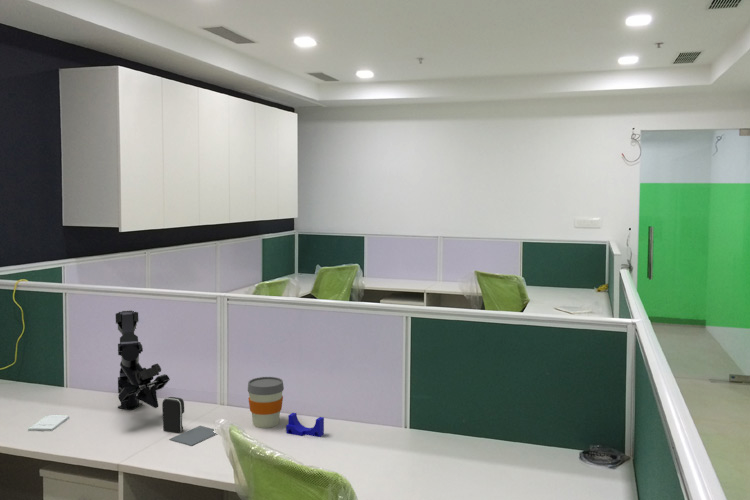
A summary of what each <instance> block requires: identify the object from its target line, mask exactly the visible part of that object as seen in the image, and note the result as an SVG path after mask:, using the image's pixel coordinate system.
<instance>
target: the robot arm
mask: <svg viewBox="0 0 750 500" xmlns="http://www.w3.org/2000/svg"><path fill="white" fill-rule="evenodd" d="M134 311H135V310H121V311H118V312H117V313H115V324H116V325H117V330H118V331H119V332H120V334H121V336H120V337H119V343H117V355H118V356H120V357H121V359H120V360H121V361H120V364H119V366H120V370H119V376H118V377H117V393H118V400H119V402H120V405H118V406H117V408H118V409H124V410H134V409H137V408H139V407H141V406H143V405H144V404H147V405H149V406H150V407H152V408H154V409H157V408H158V407H159V402H158V397H157V391H159V390H162V389H163V388H164V387H165V386H166V385H167V384H168V383H169V382H170V380H171V379H170V377H169V375H168V374H161V375H160V373H161V372H162V368H161V366H160V365H159V363H154V364H152V365H150V366H151V367H149V368H146V367H142V366H141V363H140V362H139V360H140V354H142V352H143V351H144V350H143V349H144V348H143V344H141V341H139V337H138V335H136V334H135V331H136V330H137V328H136V326H137V324H138V323H139V321H140V319H139V312H138V311H135V312H134ZM135 329H136V330H135ZM154 377H155V378H154ZM140 401H141V402H140ZM143 403H144V404H143Z"/></svg>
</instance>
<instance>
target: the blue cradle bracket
mask: <svg viewBox="0 0 750 500" xmlns="http://www.w3.org/2000/svg"><path fill="white" fill-rule="evenodd" d="M287 419H288V422H287V424H286V426H285V428H286V429H285V433H286V434H288V435H292V436H300V437H303V436H311V437H318V438H321V437H322V436H324V434H325V417H323V416H322V417H321V416H319V417H317V418H316V419H315V422H314V423H315V424H314V425H313V427H307V426H305V425H303V424H302V423H301V422H300V420H299V419H298V415H297V412H291V413H290V414H288V417H287Z"/></svg>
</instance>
